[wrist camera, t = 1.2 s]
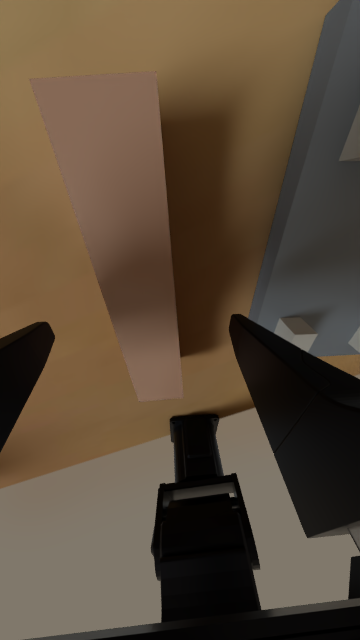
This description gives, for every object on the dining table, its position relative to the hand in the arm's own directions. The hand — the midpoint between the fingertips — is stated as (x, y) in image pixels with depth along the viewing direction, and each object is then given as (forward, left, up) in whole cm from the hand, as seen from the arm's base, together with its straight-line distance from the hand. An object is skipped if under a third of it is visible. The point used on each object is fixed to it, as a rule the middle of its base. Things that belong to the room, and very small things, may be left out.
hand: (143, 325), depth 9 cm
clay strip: (0, 0, -5) cm, 5 cm away
